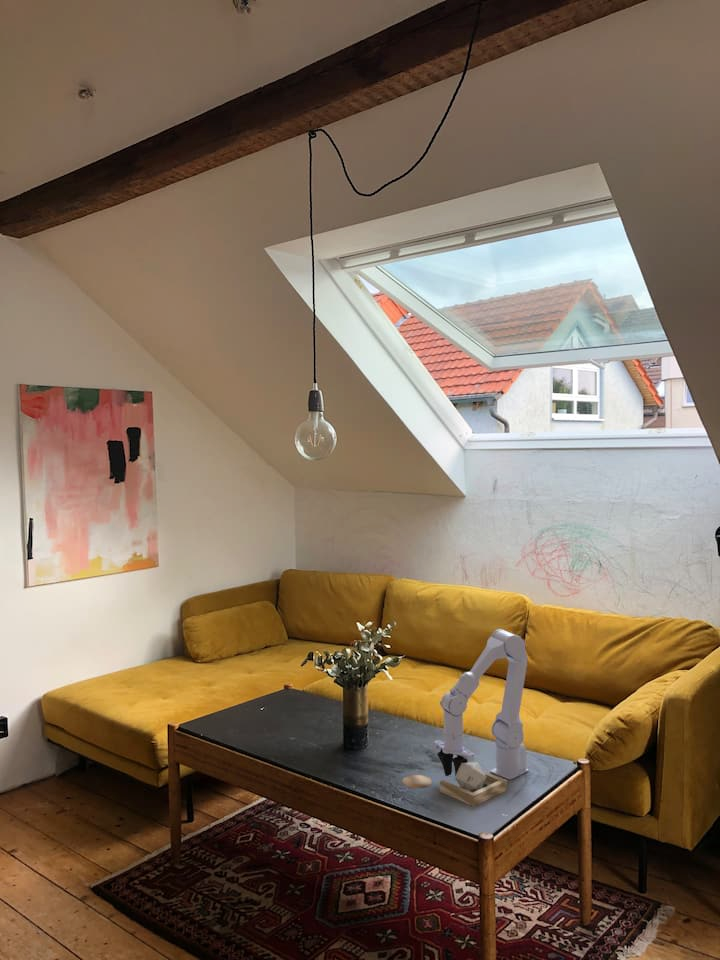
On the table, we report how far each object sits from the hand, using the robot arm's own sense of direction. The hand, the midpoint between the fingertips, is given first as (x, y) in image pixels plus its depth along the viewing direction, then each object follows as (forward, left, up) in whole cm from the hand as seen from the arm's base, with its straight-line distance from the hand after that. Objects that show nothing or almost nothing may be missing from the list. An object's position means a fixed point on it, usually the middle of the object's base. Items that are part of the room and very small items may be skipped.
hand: (453, 777), depth 235 cm
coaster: (+7, -8, -2) cm, 11 cm away
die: (0, +7, -2) cm, 7 cm away
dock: (0, +7, -2) cm, 7 cm away
